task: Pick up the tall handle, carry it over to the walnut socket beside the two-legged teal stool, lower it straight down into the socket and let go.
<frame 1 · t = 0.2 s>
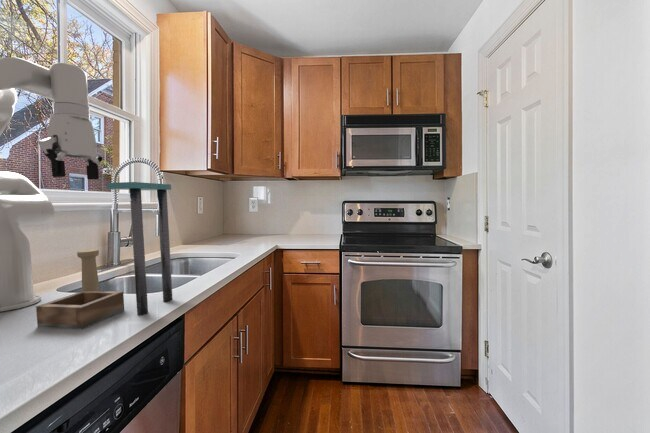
hand: (77, 178, 83), 36 cm above the worktop, tool pointing down, fingers open, 9 cm apart
socket: (83, 318, 76), on the worktop
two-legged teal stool: (148, 306, 84), on the worktop
handle: (91, 301, 90), on the worktop
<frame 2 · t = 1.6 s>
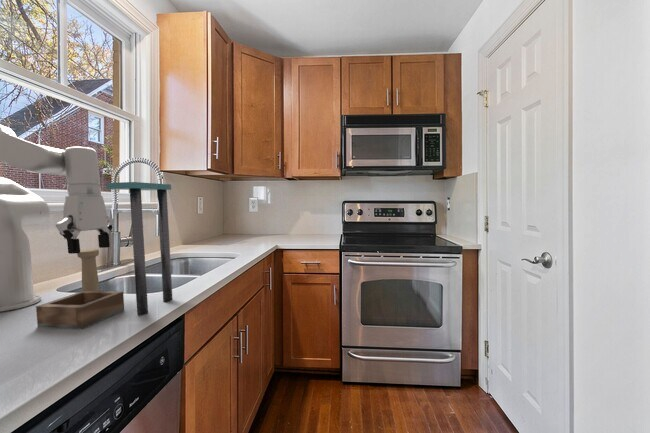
hand: (90, 250, 89), 15 cm above the worktop, tool pointing down, fingers open, 9 cm apart
nothing on the worktop moved.
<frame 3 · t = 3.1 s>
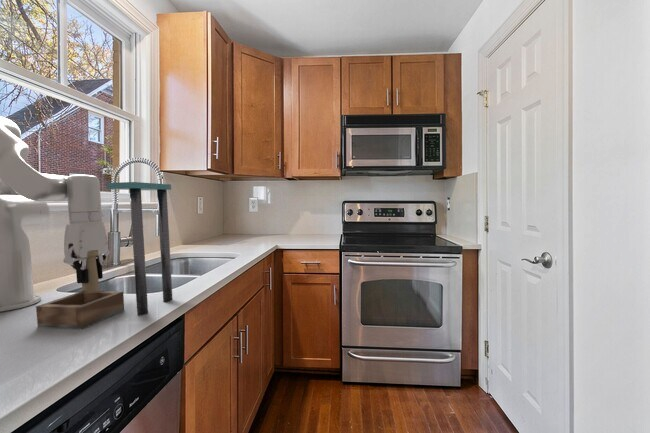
hand: (90, 280, 89), 6 cm above the worktop, tool pointing down, fingers closed on handle, 4 cm apart
handle: (91, 301, 90), on the worktop, touching gripper
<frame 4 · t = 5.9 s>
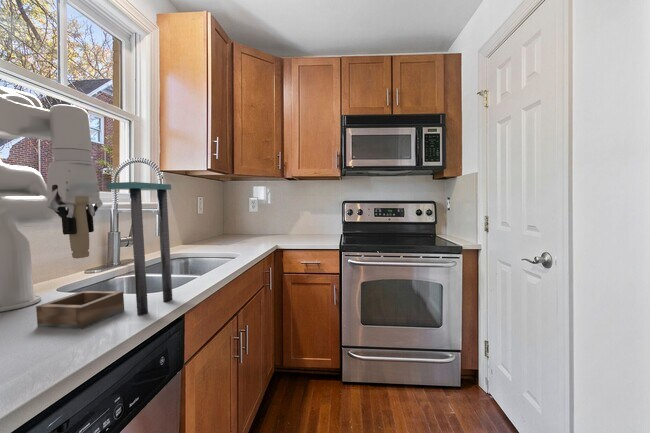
hand: (78, 232, 76), 21 cm above the worktop, tool pointing down, fingers closed on handle, 4 cm apart
handle: (81, 258, 76), point 15 cm above the worktop, touching gripper
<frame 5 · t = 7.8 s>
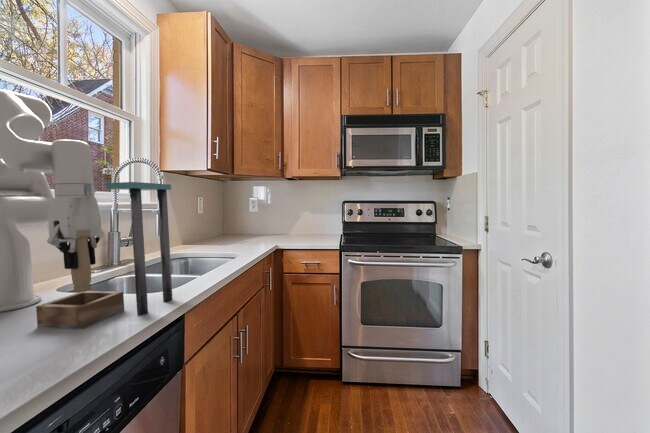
hand: (80, 265, 76), 13 cm above the worktop, tool pointing down, fingers closed on handle, 4 cm apart
handle: (82, 291, 76), point 7 cm above the worktop, touching gripper
when the fingers open (8 cm above the worktop, at t = 9.1 s): handle stays where it is, resting on socket.
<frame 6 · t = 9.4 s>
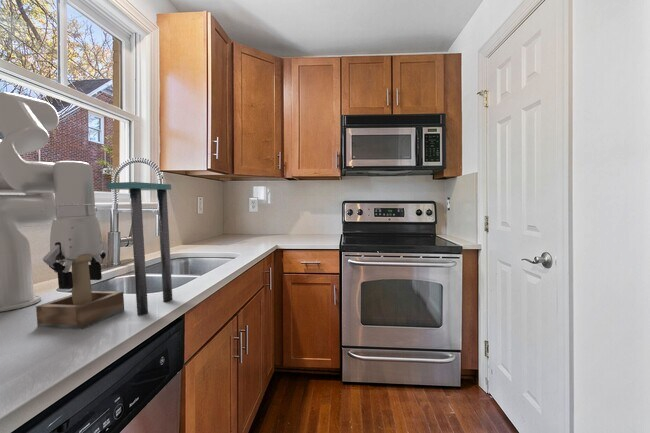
hand: (81, 283, 76), 9 cm above the worktop, tool pointing down, fingers open, 7 cm apart
handle: (83, 314, 76), point 1 cm above the worktop, touching socket
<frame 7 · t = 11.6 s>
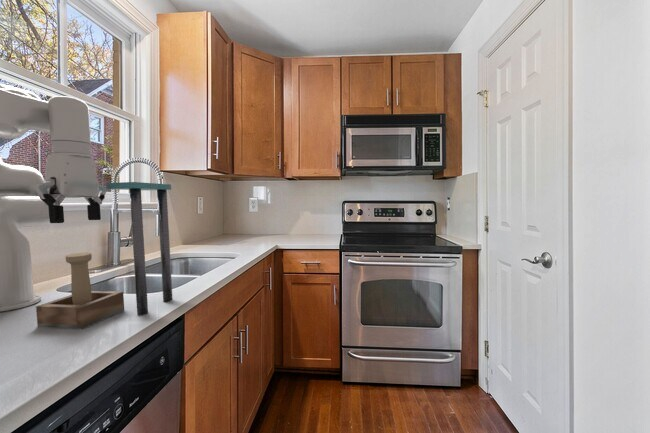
hand: (76, 221, 75), 24 cm above the worktop, tool pointing down, fingers open, 9 cm apart
nothing on the worktop moved.
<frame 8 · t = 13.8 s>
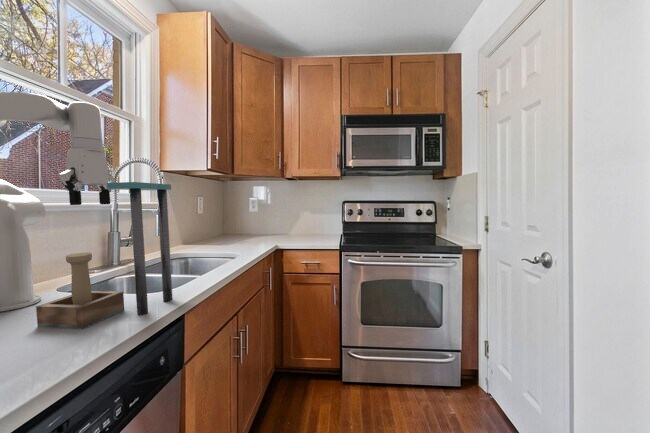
hand: (91, 204, 91), 28 cm above the worktop, tool pointing down, fingers open, 9 cm apart
nothing on the worktop moved.
at the end: handle 0.1 cm off-centre on the socket, point 0.8 cm above the socket's base; handle tilted 0°; the gripper is holding nothing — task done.
